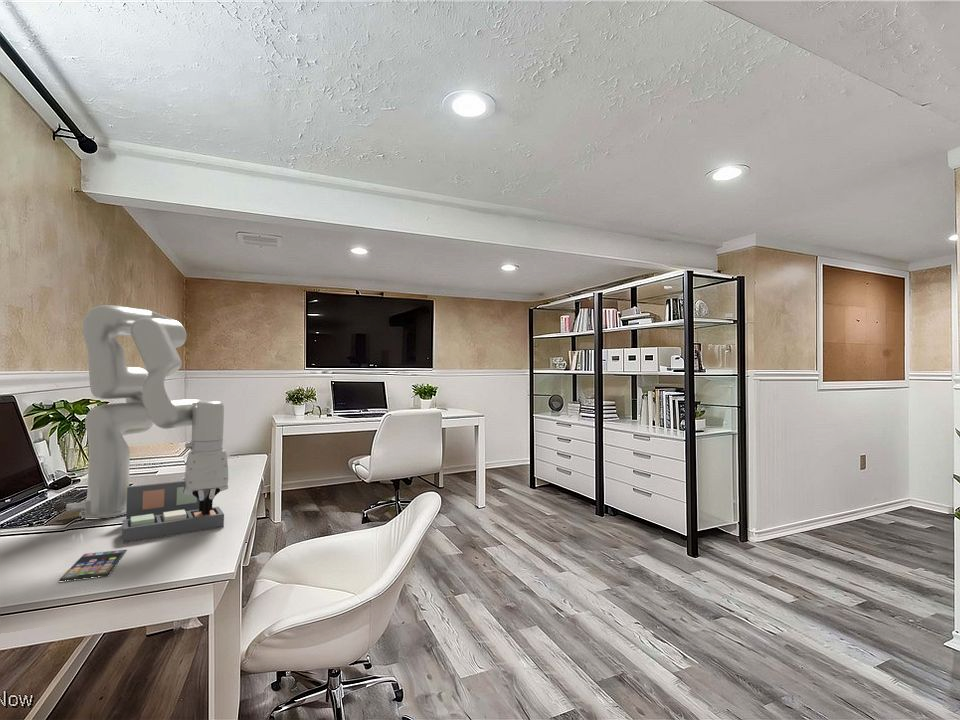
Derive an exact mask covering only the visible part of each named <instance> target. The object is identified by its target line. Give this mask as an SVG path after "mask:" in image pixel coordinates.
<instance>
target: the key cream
mask: <svg viewBox="0 0 960 720" xmlns="http://www.w3.org/2000/svg"><path fill="white" fill-rule="evenodd" d="M186 516H187V514H186V512H185V510H176V511H169V512H163V522H167V521H173V520H180V519H186Z"/></svg>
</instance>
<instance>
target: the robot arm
mask: <svg viewBox="0 0 960 720" xmlns="http://www.w3.org/2000/svg"><path fill="white" fill-rule="evenodd" d="M82 335H83V339H84V343H85V345H86V350H87V360H88V361H87V362H88V376H89V377H88V378H89V388H90V389H89V390H90V392H91V394H92V396H93V397H94V398H97V399H100V400H117V399H118V400H119V399H125V402H119V403H107V404H106V403H105V404H100V405H97V406H94V407H93V408H91V409H90V410H89V411H88V412H87V414H86V416H85V420H84V424H85V431H86V435H87V441H88V443H87V444H88V464H87V468H88V469H87V491H86V492H87V494H86V498H85V500H82V501H80V502H70V503H66V504H65V505H66V506H65V512H68V511H71V512H77V511H80V512H79V517H80V516H81V517H83V518H108V519H110V518H109V517H114V518H116V517H115V516H119V515H123V514H125V513H126V510H127V487H128V486H130V464H131V460H130V459H131V451H130V450H131V449H130V446H129V445H128V443H127V441H126V439H125V438H124V436H127V435H134V434H139V433H144V432H147V431H149V430H150V429H151V428H152V427H153V426H154V425H155V426H156V427H158V428H160V429H166V430H168V429H175V428H183V427H191V440H190V442H188V443H185V444H184V448H185V449H188V450H191V451H188V453H187V456H186V457H187V458H186V463H185V472H184V476H185V480H184V483H185V487H184V490H183V493H184V494H185V495H194V496H195V497H197V498H198V499H199V512H201V513H202V515H205V514H207V515H209V514H210V510H212V507H213V499H215V497H216V496H217V495H218V494H219V493H220V492H223V491H226V490H229V485H228V484H229V460H228V452H227V449H224V419H225V418H224V416H225V415H224V414H225V407H224V406H225V405H224V403H223V402H222V401H219V400H203V399H198V398H185V399H184V398H183V399H181V398H180V399H172V400H171V399H170V398H169V396H168V393H167V390H166V388H165V387H166V386H165V380H166V377H168V376H170V375H173V374H174V373H176V372H177V371H178V370H179V369H181V367H182V364H183V363H182V359H181V358H180V355H179V353H178V350H177V349H178V348H180V347H182V346H183V345H184V344H185V343H186V341H187V330H186V328H185V327H184V326H183V324H182V323H181V322H179V320H176V319H173V318H170V316H169V317H168V316H165V315H164V314H163V315H162V314H161V313H158V312H155V311H153V310H149V309H144V308H135V307H129V306H122V305H115V304H113V305H111V304H108V305H107V304H106V305H104V304H102V305H98V306H95V307H94V306H93V308H91V309H90V310H88V312H86V315H85V316H84V318H83V322H82ZM116 336H126V337H132V339H133V343H134V345H135V347H136V349H137V351H138V353H139V356H140V358H141V360H142V362H143V365H144V366H145V369H144V368H143V367H138V366H127V364H126V353H125V350H124V347H123V346H122V344H121V342H119V340H118V339H117V338H116ZM176 348H177V349H176ZM206 489H209V491H208V495H207V497H206V498H205V497H204V492H203V490H206ZM123 516H124V515H123ZM119 517H120V516H119Z"/></svg>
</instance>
